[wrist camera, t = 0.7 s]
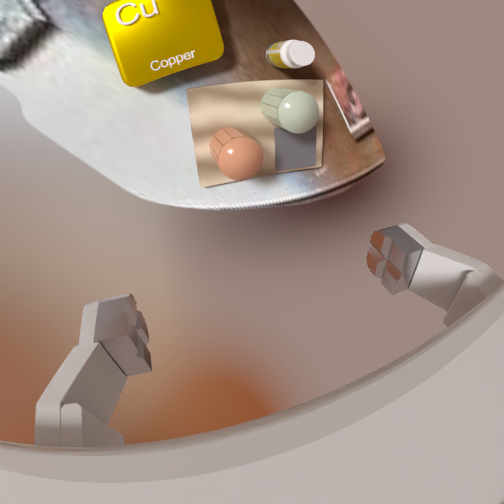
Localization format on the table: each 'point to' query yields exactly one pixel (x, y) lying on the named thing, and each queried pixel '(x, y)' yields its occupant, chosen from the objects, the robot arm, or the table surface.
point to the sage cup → (290, 109)
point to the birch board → (242, 121)
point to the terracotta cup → (236, 153)
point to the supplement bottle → (290, 54)
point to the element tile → (161, 37)
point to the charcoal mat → (295, 149)
